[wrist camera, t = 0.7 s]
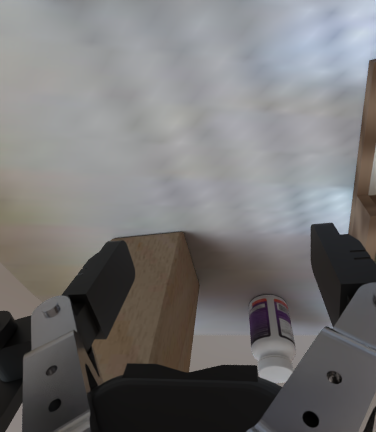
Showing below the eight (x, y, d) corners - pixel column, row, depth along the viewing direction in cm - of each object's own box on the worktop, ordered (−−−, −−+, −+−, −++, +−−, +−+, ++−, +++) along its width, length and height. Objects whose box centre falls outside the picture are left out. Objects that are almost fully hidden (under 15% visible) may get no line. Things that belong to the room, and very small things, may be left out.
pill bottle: (248, 316, 43) (252, 384, 35) (248, 293, 40) (252, 361, 32) (286, 317, 42) (298, 388, 34) (288, 293, 39) (303, 364, 31)
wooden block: (110, 237, 37) (16, 410, 21) (184, 229, 35) (142, 417, 19) (135, 288, 43) (76, 457, 27) (200, 284, 40) (178, 466, 24)
